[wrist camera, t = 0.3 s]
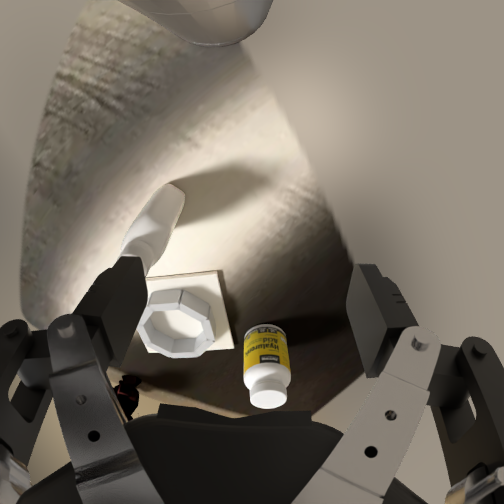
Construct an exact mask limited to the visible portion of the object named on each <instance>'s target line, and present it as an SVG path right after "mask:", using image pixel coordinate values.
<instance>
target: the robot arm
mask: <svg viewBox="0 0 504 504" xmlns="http://www.w3.org/2000/svg"><path fill="white" fill-rule="evenodd" d="M118 1H120V2H122V3H124V4H125V5H127V6H129V7H131V8H133V9H135V10H137V11H138V12H140V13H142V14H143V15H145V16H147V17H148V18H150V19H152V20H153V21H155V22H157V23H158V24H160V25H161V26H163V27H165V28H166V29H168V30H169V31H171V32H172V33H174V34H175V35H177V36H179V37H180V38H182V39H184V40H186V41H187V42H189V43H192V44H195V45H199V46H205V47H223V46H227V45H231V44H235V43H237V42H239V41H242V40H244V39H246V38H247V37H248V36H250V35H252V34H253V33H254V32H255V31H256V30H257V29H258V28H259V27H260V26H261V25H262V23H263V22H264V20H265V19H266V17H267V14H268V12H269V9H270V6H271V4H272V2H273V0H118ZM147 301H148V289H147V284H146V279H145V274H144V268H143V263H142V259H141V258H140V257H138V256H121V257H120V258H119V259H118V260H117V262H116V263H115V265H114V266H113V267H112V268H108V269H107V270H105V271H104V272H102V273H101V274H100V275H99V276H98V277H97V278H96V280H95V281H94V283H93V285H91V287H90V288H89V290H88V292H87V293H86V294H85V295H84V297H83V298H82V300H81V301H80V303H79V304H78V306H77V307H76V309H75V310H74V312H73V313H72V314H65V315H62V316H59V317H58V318H56V319H54V320H53V321H52V322H51V323H50V325H49V326H48V328H47V330H37V331H30V329H29V327H28V325H27V323H26V322H25V321H23V320H21V319H16V320H12V321H9V322H7V323H5V324H4V325H3V326H2V327H1V328H0V504H428V503H426V502H425V501H424V500H423V499H421V498H420V497H419V496H418V495H416V494H415V493H414V492H412V491H411V490H410V489H409V488H407V487H406V486H405V485H404V484H403V483H401V482H400V481H399V480H398V479H396V478H395V477H394V476H395V474H396V472H397V470H398V468H399V466H400V464H401V462H402V460H403V458H404V456H405V454H406V452H407V449H408V447H409V445H410V443H411V441H412V438H413V436H414V434H415V431H416V429H417V427H418V424H419V421H420V419H421V417H422V414H423V411H424V409H425V406H426V405H430V406H431V410H432V413H433V417H434V420H435V423H436V427H437V430H438V434H439V438H440V441H441V445H442V449H443V453H444V457H445V461H446V466H447V470H448V475H449V479H450V484H451V489H450V490H449V491H448V493H447V495H446V498H445V504H504V368H503V366H502V364H501V362H500V360H499V358H498V357H497V355H496V353H495V351H494V349H493V348H492V346H491V345H490V344H489V343H488V342H486V341H485V340H483V339H481V338H478V337H468V338H466V339H465V340H464V341H463V343H462V345H461V346H460V348H459V347H453V346H447V345H442V344H441V343H440V340H439V339H438V337H437V336H436V335H435V334H434V333H433V332H432V331H430V330H428V329H426V328H424V327H420V326H419V325H418V323H417V321H416V319H415V317H414V316H413V314H412V312H411V310H410V308H409V306H408V305H407V303H406V301H405V299H404V297H403V296H402V294H401V292H400V290H399V288H398V287H397V285H396V284H395V283H394V282H392V281H391V280H390V279H389V278H388V277H382V275H381V273H380V271H379V269H378V268H377V266H376V265H375V264H355V266H354V269H353V273H352V278H351V282H350V286H349V291H348V295H347V301H346V309H347V314H348V317H349V320H350V324H351V327H352V330H353V333H354V336H355V340H356V343H357V346H358V349H359V353H360V356H361V360H362V363H363V367H364V370H365V373H366V377H367V378H375V377H378V379H377V381H376V383H375V385H374V386H373V388H372V390H371V392H370V393H369V395H368V397H367V399H366V400H365V402H364V404H363V405H362V407H361V409H360V410H359V412H358V414H357V415H356V417H355V418H354V420H353V421H352V423H351V424H350V426H349V428H348V429H347V431H346V432H345V434H343V433H342V432H340V431H339V430H337V429H335V428H333V427H330V426H328V425H325V424H322V423H318V422H314V421H312V420H311V411H273V412H268V413H263V414H258V415H252V416H247V417H241V418H229V417H225V416H222V415H218V414H215V413H212V412H208V411H205V410H202V409H199V408H196V407H186V406H177V405H169V404H161V403H160V406H159V410H158V413H157V414H150V415H145V416H141V417H138V418H135V419H133V420H130V421H128V420H127V418H126V416H125V414H124V412H123V410H122V408H121V406H120V404H119V401H118V399H117V397H116V394H115V392H114V390H113V387H112V385H111V383H110V380H109V378H108V375H107V373H106V371H107V369H108V366H113V367H119V368H120V366H121V364H122V361H123V359H124V357H125V354H126V352H127V349H128V347H129V345H130V342H131V340H132V337H133V335H134V333H135V330H136V328H137V326H138V324H139V321H140V319H141V317H142V315H143V312H144V310H145V308H146V305H147ZM16 374H18V376H19V377H20V379H21V381H20V383H19V385H18V387H17V389H16V391H15V393H14V395H13V397H12V399H11V402H10V401H9V398H8V390H9V387H10V385H11V383H12V381H13V379H14V378H15V376H16ZM470 396H471V398H472V401H473V404H474V406H475V409H476V420H475V418H474V415H473V412H472V409H471V406H470V404H469V401H468V398H469V397H470ZM52 398H53V400H54V404H55V408H56V412H57V416H58V420H59V423H60V427H61V430H62V434H63V437H64V440H65V444H66V447H67V450H68V453H69V456H70V459H71V461H70V462H69V463H67V464H66V465H65V466H63V467H61V468H60V469H58V470H57V471H55V472H54V473H52V474H51V475H49V476H48V477H46V478H45V479H43V480H41V481H40V482H39V483H37V484H35V485H34V486H33V485H32V483H31V482H30V475H29V471H28V469H27V466H28V463H29V459H30V456H31V454H32V451H33V447H34V444H35V442H36V439H37V436H38V433H39V431H40V428H41V425H42V423H43V420H44V418H45V415H46V412H47V410H48V407H49V405H50V402H51V400H52Z"/></svg>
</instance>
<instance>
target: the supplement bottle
mask: <svg viewBox="0 0 504 504" xmlns="http://www.w3.org/2000/svg"><path fill="white" fill-rule="evenodd" d="M290 380H291V373H290V366H289V357H288V350H287V341H286V335H285V333H284V332H283V330H282V329H281V328H279V327H277V326H275V325H272V324H261V325H257V326H255V327H253V328H251V329H250V330H249V331H248V332H247V333H246V335H245V338H244V382H245V385H246V386H247V388H248V389H250V401H251V403H252V404H253V405H254V406H256V407H259V408H265V409H268V408H275V407H278V406H281V405H282V404H284V403H285V402H286V400H287V390H286V387H287V386H288V385H289V383H290Z"/></svg>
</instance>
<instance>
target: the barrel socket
mask: <svg viewBox="0 0 504 504" xmlns="http://www.w3.org/2000/svg"><path fill="white" fill-rule="evenodd" d="M145 279H146V284H147V289H148V301H147V305H146V308H145V310H144V312H143V315H142V317H141V319H140V321H139V324H138V326H137V330H138V332H139V334H140V336H141V338H142V340H143V342H144V344H145V346H146V348H147V350H148V352H149V353H158V352H159V353H161V354H163V355H165V356H167V357H169V358H170V357H172V358H188V357H198V356H200V355H202V354H203V353H204V352H205V351H206V350H219V349H232V348H234V342H233V338H232V334H231V330H230V326H229V321H228V317H227V313H226V309H225V304H224V300H223V295H222V291H221V287H220V282H219V278H218V273H217V271H211V272H201V273H192V274H182V275H173V276H163V277H153V278H145Z"/></svg>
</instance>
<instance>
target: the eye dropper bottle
mask: <svg viewBox="0 0 504 504" xmlns="http://www.w3.org/2000/svg"><path fill="white" fill-rule="evenodd" d="M184 202H185V194H184V193H183V191H181V190H180V189H178V188H176V187H175V186H173V185H172V184H165V185H163V186H162V187H160V188H159V189H158V190H157V191H156V192H155V193H154V194H153V195H152V196H151V198H150V199H149V200H148V202H147V203H146V205H145V206H144V207H143V209H142V210H141V212H140V213H139V215H138V216H137V217H136V219H135V220H134V222H133V223H132V225H131V226H130V228H129V229H128V231H127V233H126V234H125V236H124V239H123V242H122V245H121V254H120V256H119V257H118V259H119V258H120V257H121V256H138V257H140V258H141V259H142V263H143V268H144V274H145V277H146V276H147V274H148V271H149V269H150V268H151V267H152V266H153V265H154V264H155V263H156V262H157V261H158V260H159V259H160V257H161V256H162V254H163V253H164V251H165V249H166V247H167V244H168V242H169V240H170V237H171V235H172V232H173V230H174V228H175V225H176V223H177V221H178V219H179V216H180V214H181V212H182V209H183V206H184ZM118 259H117V260H118Z"/></svg>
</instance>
